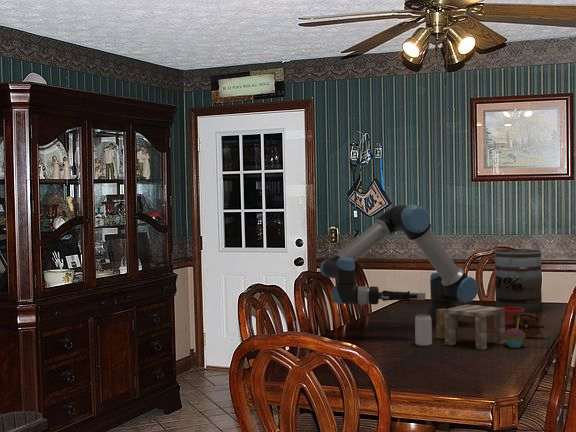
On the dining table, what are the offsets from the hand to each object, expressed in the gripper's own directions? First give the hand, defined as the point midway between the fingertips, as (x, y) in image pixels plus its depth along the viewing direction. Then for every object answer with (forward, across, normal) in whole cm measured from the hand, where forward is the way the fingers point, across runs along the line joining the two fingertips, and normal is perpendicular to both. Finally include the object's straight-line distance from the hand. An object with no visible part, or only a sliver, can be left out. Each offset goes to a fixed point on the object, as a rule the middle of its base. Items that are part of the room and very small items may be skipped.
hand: (425, 296), depth 327 cm
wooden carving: (+40, -6, -17) cm, 44 cm away
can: (0, +13, -18) cm, 22 cm away
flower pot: (+36, -22, -17) cm, 46 cm away
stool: (+20, +9, -18) cm, 28 cm away
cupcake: (+35, +14, -18) cm, 41 cm away
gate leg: (+9, +4, -17) cm, 20 cm away
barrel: (+44, -82, -17) cm, 95 cm away
